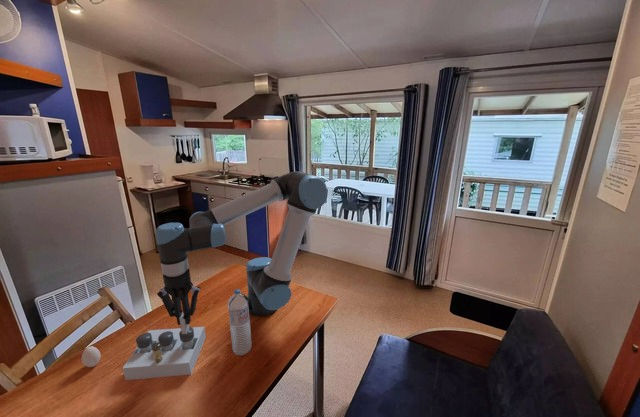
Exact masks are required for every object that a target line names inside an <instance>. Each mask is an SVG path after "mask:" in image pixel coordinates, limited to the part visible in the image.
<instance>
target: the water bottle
mask: <svg viewBox="0 0 640 417" xmlns="http://www.w3.org/2000/svg"><path fill="white" fill-rule="evenodd" d="M233 293H234V294H232V295H231V296H230V297H229V299H228V301H227V307H228V315H229V316H228V317H229V328H230V337H231V346H232V347H231V348H232V352H233V354H234V355H236V356H245V355H247V354H248V353H249V352H250V351H251V349H252V344H253V342H252V331H251V318H250V314H249V307H248V298H247V295H246V294H244V293H242V292H241V290H240V289H239V288H237V289H235V290H234V291H233Z"/></svg>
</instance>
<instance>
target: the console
mask: <svg viewBox="0 0 640 417" xmlns="http://www.w3.org/2000/svg"><path fill="white" fill-rule="evenodd" d="M191 327H192V328H193V330H194V338H193V344H194V349H188V350H184V344H183V342H181V341H180V336H179V333H180V331H181V327H179V328H178V327H177V328H165V329H151V330H150V329H149V330H148V331H147V332H146V333H151V335H152V340H153V341H152V343H151V346H152V345H153V344H154V343H157V342H159V341H158V337H159V336H160V335H161V334H162V333H164V332H167V331H171V332H172V333H173V337H174V341H173V342H172V345H173V350H172V351H163V348H162V347H161V353H162V358H163V360H162V361H161V362H159V363H156V361H155V357H154V352H153V351H152V350H151V352H148V353H142V352H141V348H138V347H137V346H136V348H135V349H134V351H133V352H132V354H131V355H130V357H128V360H127V361H126V363H125V364H124V365H123V367H122V372H123V375H124V379H125V381H132V380H143V379H154V378H164V377H167V378H169V377H176V376H188V375H189V376H190V375H192V374H193V371H194V368H195V366H196V363H197V361H198V359H199V356H200V354H201V350H202V348H203V345H204V343H205V340H206V338H207V336H206V328H205V326H195V327H193V326H191Z"/></svg>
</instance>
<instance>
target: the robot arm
mask: <svg viewBox="0 0 640 417" xmlns="http://www.w3.org/2000/svg"><path fill="white" fill-rule="evenodd" d="M327 199H328V187H327V184H326V183H325V181H324V180H323V179H322V178H320V177H318V176H316V175H314V174H310V173H306V172H303V171H300V170H299V171H296V170H295V171H290V172H288V173H286V174H283V175H281V176H279V177H276V178H274V179H272V180H270V183H269V184H266V185H264V186H261V187H259V188H257V189H254V190H252V191H249V192H248V193H245V194H243V195H241V196H239V197H237V198H235V199H231V200H230V201H228V202H225V203H223V204H221V205H218V206H217V207H213V208H212V209H210V210H206V211H197V212H194V213H193V214H191V216H190V217H189V220H188V221H189V224H188V225H189V227H188V228H185V227H184V225H183V224H182V223H180V222H168V223H164V224H161V225H159V226H158V227H156V229H155V238H156V246H157V250H158V257H159V260H160V267H161V274H162V279H163V283H164V286H163V288H160V290H159V291H158V292H157V293H156V295H157V296H158V297H159V299H161V301H162V304H163V306H164V308H165V309H166V311H167V313H168V315H169V317H171V318H172V317H175V318H176V323H177V326H180V328H181V331H182V334H187V332H188V330H189V327H190V323H191V321H192V319H191V317H192V316H193V315H194V313H195V312H196V309H197V302H198V295H199V292H200V291H201V287H200V286H195V285H194V284H193V282H192V278H191V271H190V266H189V265H190V264H189V257H188V253H191V252H195V251H201V250H206V249H212V248H214V249H215V248H216V247H221V246H224V245H225V244H226V242H227V235H226V229H225V226H226V225H228V224H230V223H232V222H234V221H236V220H239V219H241V218H244V217H245V216H247V215H250V214H252V213H254V212H256V211H258V210H261V209H263V208H265V207H267V206H269V205H271V204H274V203H276V202H277V201H279V202H283V201H285V200H287V202H286V204H287V206H288V211H287V213H286V214H287V215H286V217H285V219H284V222H283V224H282V229H281V231H280V233H279V235H278V236H279V237H278V239H277V243H276V246H275V248H274V250H273V254H272V257H266V256H262V257H261V256H260V257H256V258H253V259H251V260H249V261H248V262H247V263H246V269H245V271H246V280H247V292H248V293H247V295H246V296H247V298H248V307H249V316H250V315H251V316H252V317H260V318H261V317H266V316H270V315H271V314H273V313H274V312H276V311H277V310H280V309H281V308H282V307H284V306H286V305H287V304H288V303H289V302H290V300H291V297H292V290H291V287H290V284H291V282H292V279H293V276H292V274H291V269H292V268H293V266H294V262H295V259H296V256H297V254H298V251H299V248H300V245H301V243H302V240H303V237H304V234H305V232H306V228H307V226H308V223H309V220H310V217H311V216H314V215H315V214H316V212H317V211H318V210H317V209H320V208H321V207H323V206H324V205H325V203H326V202H327ZM189 292H191V295H192V296H191V301H189Z"/></svg>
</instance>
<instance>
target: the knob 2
mask: <svg viewBox="0 0 640 417" xmlns="http://www.w3.org/2000/svg"><path fill="white" fill-rule="evenodd" d="M192 327H193V326H189V330H188V332H187V334H182V331H180V333H179V336H180V341H181V342H183V344H184V350H188V349H194V344H193V338H194V330H193V328H192Z"/></svg>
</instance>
